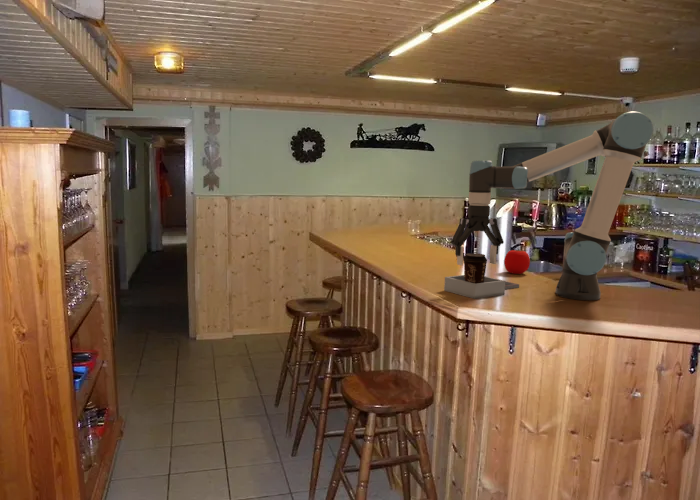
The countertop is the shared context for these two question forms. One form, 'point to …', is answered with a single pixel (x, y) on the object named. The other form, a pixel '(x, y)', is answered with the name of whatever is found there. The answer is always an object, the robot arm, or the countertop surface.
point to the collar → (511, 285)
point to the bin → (474, 287)
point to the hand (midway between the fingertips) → (476, 264)
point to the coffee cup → (474, 267)
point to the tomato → (517, 261)
